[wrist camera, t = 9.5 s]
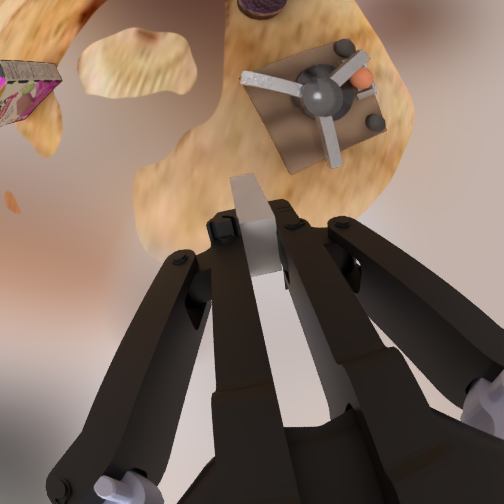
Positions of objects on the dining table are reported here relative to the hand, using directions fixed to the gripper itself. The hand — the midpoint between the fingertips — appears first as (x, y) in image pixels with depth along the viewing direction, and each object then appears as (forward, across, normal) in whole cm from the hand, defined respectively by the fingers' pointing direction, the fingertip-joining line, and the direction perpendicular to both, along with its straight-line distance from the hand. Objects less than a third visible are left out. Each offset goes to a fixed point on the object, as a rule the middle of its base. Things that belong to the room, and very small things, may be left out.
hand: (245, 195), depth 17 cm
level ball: (+26, +22, +8) cm, 35 cm away
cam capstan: (+26, +13, +3) cm, 29 cm away
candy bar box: (+28, -31, +20) cm, 46 cm away
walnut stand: (+28, +16, +4) cm, 32 cm away
